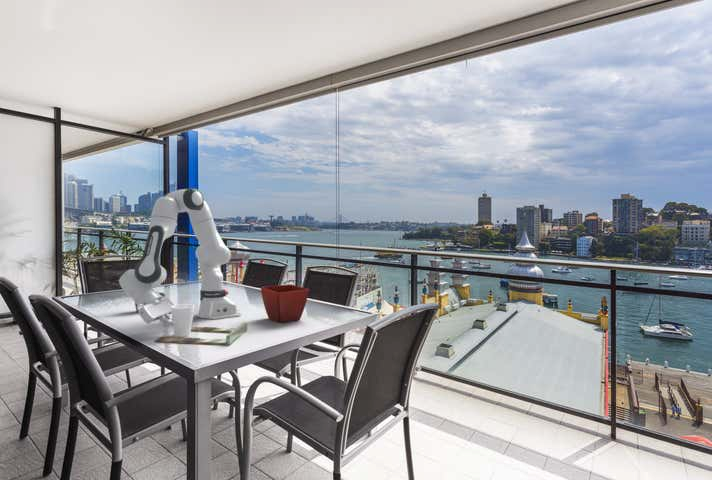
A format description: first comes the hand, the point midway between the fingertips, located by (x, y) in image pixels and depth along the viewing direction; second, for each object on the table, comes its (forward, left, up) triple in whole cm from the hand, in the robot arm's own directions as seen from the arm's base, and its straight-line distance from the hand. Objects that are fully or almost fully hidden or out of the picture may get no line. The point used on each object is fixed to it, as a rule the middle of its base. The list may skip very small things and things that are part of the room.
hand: (170, 323), depth 166 cm
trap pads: (-12, +7, -4) cm, 14 cm away
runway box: (-13, +7, -5) cm, 15 cm away
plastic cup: (+12, -53, -5) cm, 54 cm away
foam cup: (-5, +3, -5) cm, 8 cm away
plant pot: (-55, -10, -5) cm, 56 cm away
